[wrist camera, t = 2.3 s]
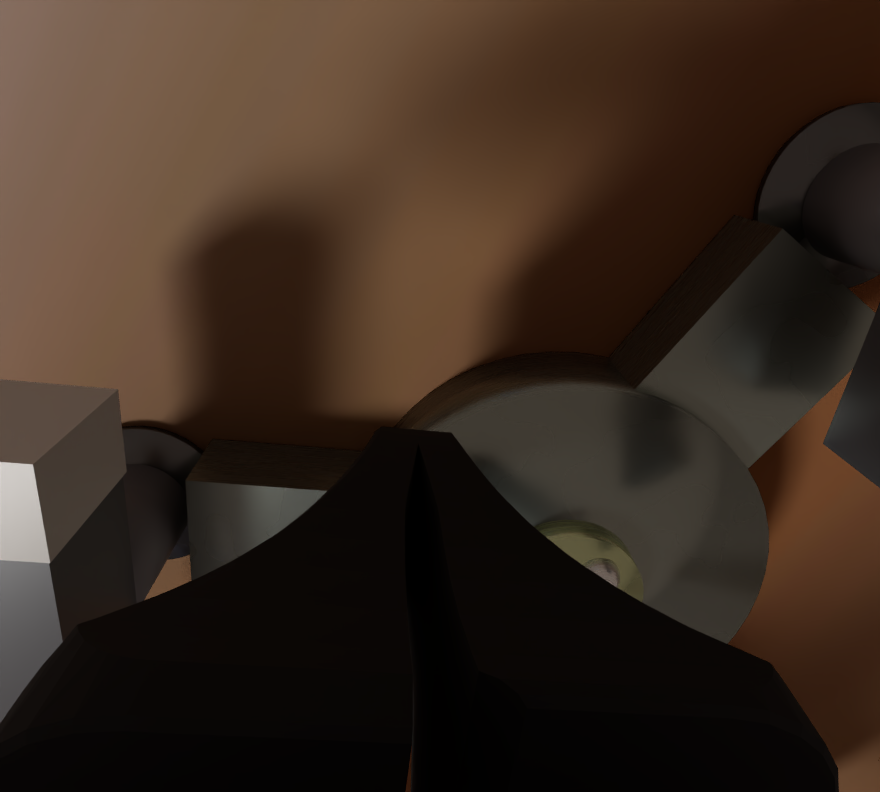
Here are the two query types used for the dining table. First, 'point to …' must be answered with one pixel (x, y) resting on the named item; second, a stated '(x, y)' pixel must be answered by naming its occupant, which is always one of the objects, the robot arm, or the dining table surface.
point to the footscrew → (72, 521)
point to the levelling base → (614, 416)
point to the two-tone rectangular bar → (864, 246)
